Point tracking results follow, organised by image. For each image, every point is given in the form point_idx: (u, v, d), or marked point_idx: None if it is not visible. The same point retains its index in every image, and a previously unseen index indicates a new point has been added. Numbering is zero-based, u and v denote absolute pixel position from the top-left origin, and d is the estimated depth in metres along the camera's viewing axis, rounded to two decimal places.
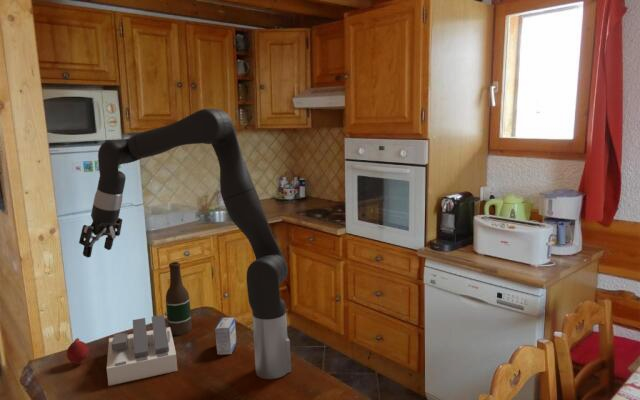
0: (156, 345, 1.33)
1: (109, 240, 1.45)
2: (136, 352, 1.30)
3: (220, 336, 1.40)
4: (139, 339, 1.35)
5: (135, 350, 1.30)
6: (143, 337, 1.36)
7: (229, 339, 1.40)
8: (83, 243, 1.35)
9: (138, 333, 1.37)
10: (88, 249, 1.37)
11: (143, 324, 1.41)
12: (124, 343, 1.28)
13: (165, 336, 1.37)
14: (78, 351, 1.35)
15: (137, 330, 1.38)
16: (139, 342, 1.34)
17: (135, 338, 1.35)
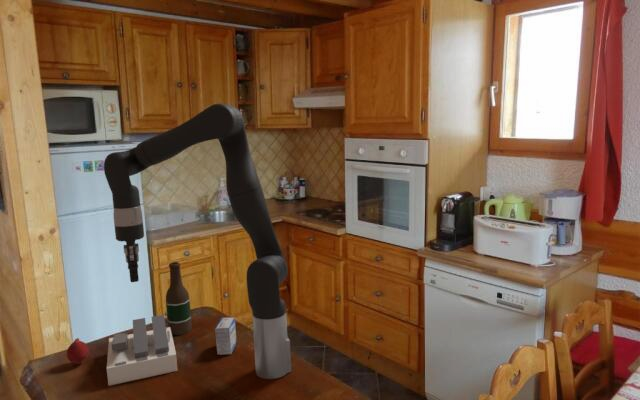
0: (156, 345, 1.33)
1: None
2: (136, 352, 1.30)
3: (220, 336, 1.40)
4: (139, 339, 1.35)
5: (135, 350, 1.30)
6: (143, 337, 1.36)
7: (229, 339, 1.40)
8: (134, 266, 1.31)
9: (138, 333, 1.37)
10: (136, 272, 1.33)
11: (143, 324, 1.41)
12: (124, 343, 1.28)
13: (165, 336, 1.37)
14: (78, 351, 1.35)
15: (137, 330, 1.38)
16: (139, 342, 1.34)
17: (135, 338, 1.35)
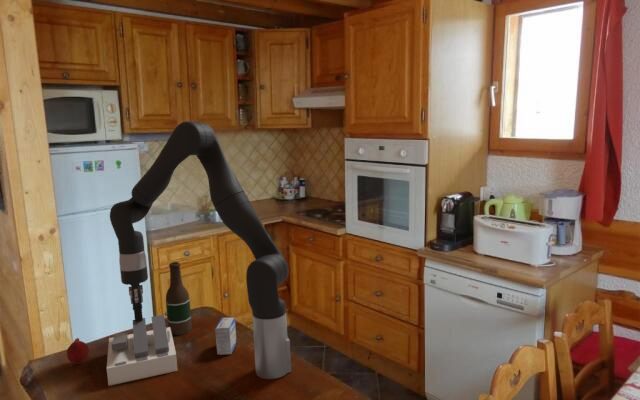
0: (156, 345, 1.33)
1: (139, 310, 1.42)
2: (136, 352, 1.30)
3: (220, 336, 1.40)
4: (139, 339, 1.35)
5: (135, 350, 1.30)
6: (143, 337, 1.36)
7: (229, 339, 1.40)
8: (138, 307, 1.39)
9: (138, 333, 1.37)
10: (140, 312, 1.42)
11: (143, 324, 1.41)
12: (124, 343, 1.28)
13: (165, 336, 1.37)
14: (78, 351, 1.35)
15: (137, 330, 1.38)
16: (139, 342, 1.34)
17: (135, 338, 1.35)
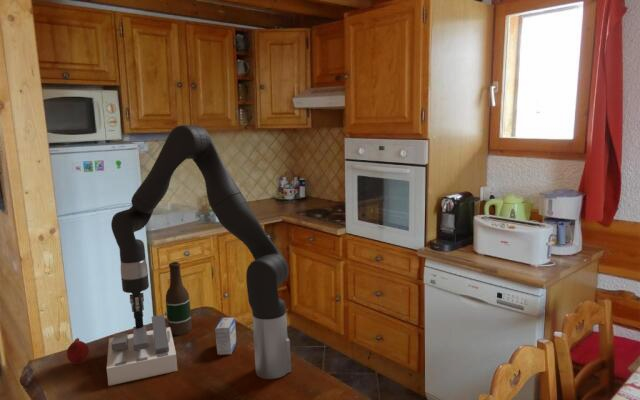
0: (156, 345, 1.33)
1: (140, 318, 1.43)
2: (135, 344, 1.29)
3: (220, 336, 1.40)
4: (139, 337, 1.35)
5: (134, 343, 1.30)
6: (143, 335, 1.36)
7: (229, 339, 1.40)
8: (139, 315, 1.40)
9: (138, 333, 1.37)
10: (141, 320, 1.42)
11: (143, 328, 1.42)
12: (124, 343, 1.28)
13: (165, 336, 1.37)
14: (78, 351, 1.35)
15: (137, 332, 1.39)
16: (139, 338, 1.34)
17: (135, 336, 1.35)
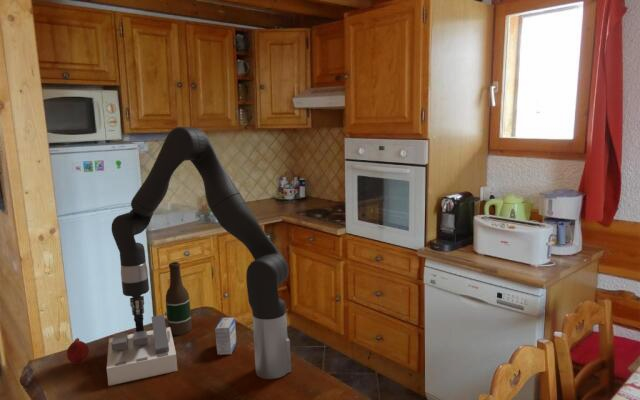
0: (156, 345, 1.33)
1: (140, 321, 1.43)
2: (135, 339, 1.30)
3: (220, 336, 1.40)
4: (139, 335, 1.35)
5: (134, 339, 1.30)
6: (143, 334, 1.36)
7: (229, 339, 1.40)
8: (139, 318, 1.40)
9: (138, 334, 1.38)
10: (141, 323, 1.43)
11: (143, 331, 1.42)
12: (124, 343, 1.28)
13: (165, 336, 1.37)
14: (78, 351, 1.35)
15: (137, 333, 1.39)
16: (138, 336, 1.34)
17: (135, 335, 1.35)
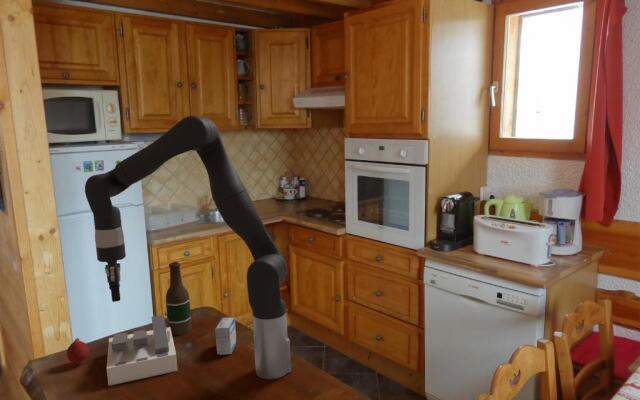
0: (156, 345, 1.33)
1: None
2: (135, 339, 1.30)
3: (220, 336, 1.40)
4: (139, 335, 1.35)
5: (134, 338, 1.30)
6: (143, 334, 1.36)
7: (229, 339, 1.40)
8: (115, 286, 1.32)
9: (138, 334, 1.38)
10: (117, 292, 1.35)
11: (143, 331, 1.42)
12: (124, 343, 1.28)
13: (165, 336, 1.37)
14: (78, 351, 1.35)
15: (137, 333, 1.39)
16: (138, 336, 1.34)
17: (135, 335, 1.35)
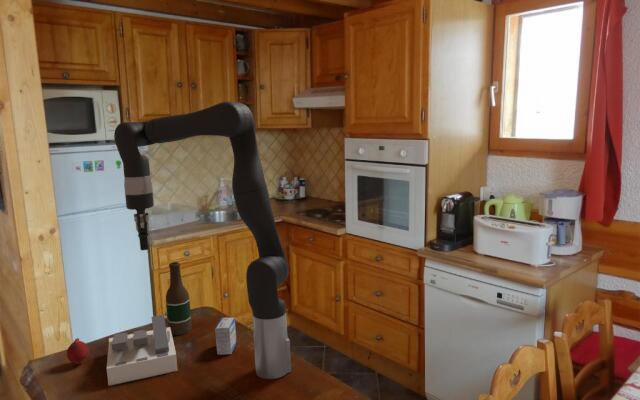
0: (156, 345, 1.33)
1: None
2: (135, 339, 1.30)
3: (220, 336, 1.40)
4: (139, 335, 1.35)
5: (134, 338, 1.30)
6: (143, 334, 1.36)
7: (229, 339, 1.40)
8: (144, 234, 1.34)
9: (138, 334, 1.38)
10: (146, 240, 1.37)
11: (143, 331, 1.42)
12: (124, 343, 1.28)
13: (165, 336, 1.37)
14: (78, 351, 1.35)
15: (137, 333, 1.39)
16: (138, 336, 1.34)
17: (135, 335, 1.35)
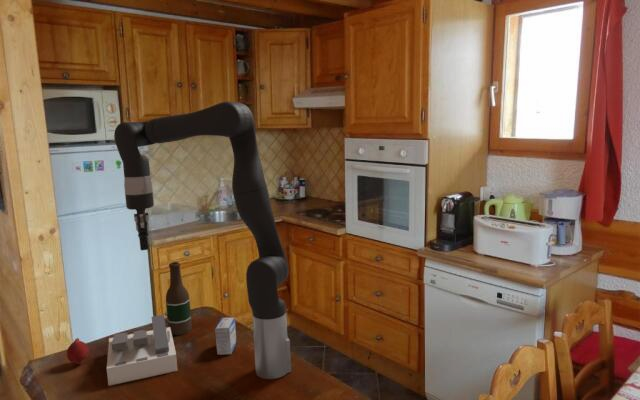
0: (156, 345, 1.33)
1: None
2: (135, 339, 1.30)
3: (220, 336, 1.40)
4: (139, 335, 1.35)
5: (134, 338, 1.30)
6: (143, 334, 1.36)
7: (229, 339, 1.40)
8: (144, 234, 1.34)
9: (138, 334, 1.38)
10: (146, 240, 1.37)
11: (143, 331, 1.42)
12: (124, 343, 1.28)
13: (165, 336, 1.37)
14: (78, 351, 1.35)
15: (137, 333, 1.39)
16: (138, 336, 1.34)
17: (135, 335, 1.35)
